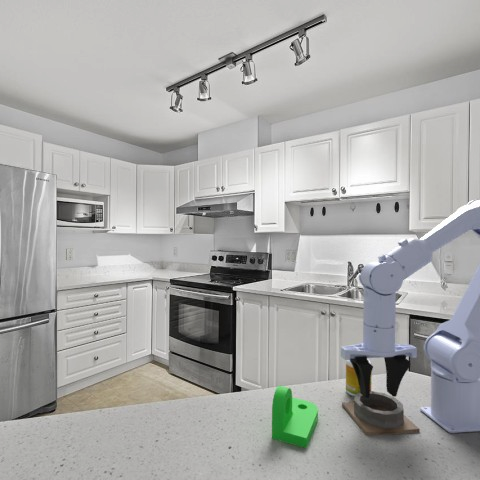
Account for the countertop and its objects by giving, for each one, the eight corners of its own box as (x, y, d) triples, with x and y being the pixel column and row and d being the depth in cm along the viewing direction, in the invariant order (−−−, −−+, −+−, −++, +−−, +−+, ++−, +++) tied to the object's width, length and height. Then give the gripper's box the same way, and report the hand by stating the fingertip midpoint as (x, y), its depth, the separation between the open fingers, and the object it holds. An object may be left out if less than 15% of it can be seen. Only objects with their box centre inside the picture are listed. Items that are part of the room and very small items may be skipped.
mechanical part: (306, 450, 52) (306, 401, 52) (271, 440, 54) (272, 393, 54) (320, 414, 62) (321, 373, 62) (291, 406, 65) (291, 368, 65)
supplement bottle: (358, 400, 67) (359, 355, 67) (340, 390, 72) (341, 347, 72) (376, 395, 70) (377, 351, 70) (357, 385, 75) (358, 344, 75)
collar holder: (387, 403, 66) (387, 388, 66) (419, 432, 56) (419, 414, 56) (342, 405, 65) (342, 390, 65) (366, 435, 55) (366, 417, 55)
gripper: (401, 318, 66) (400, 383, 66) (334, 319, 64) (333, 386, 64) (424, 328, 59) (423, 400, 59) (350, 329, 57) (349, 404, 57)
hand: (378, 394), depth 61 cm, fingers open, 5 cm apart
